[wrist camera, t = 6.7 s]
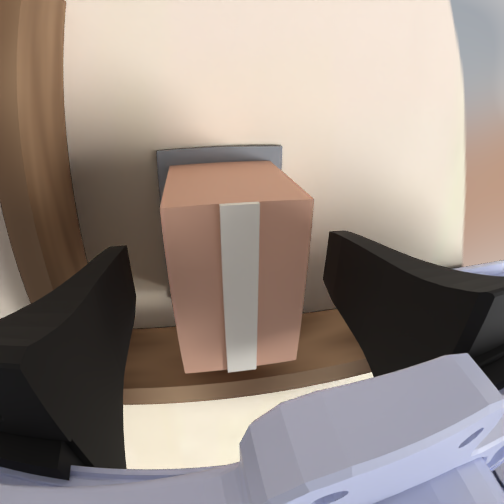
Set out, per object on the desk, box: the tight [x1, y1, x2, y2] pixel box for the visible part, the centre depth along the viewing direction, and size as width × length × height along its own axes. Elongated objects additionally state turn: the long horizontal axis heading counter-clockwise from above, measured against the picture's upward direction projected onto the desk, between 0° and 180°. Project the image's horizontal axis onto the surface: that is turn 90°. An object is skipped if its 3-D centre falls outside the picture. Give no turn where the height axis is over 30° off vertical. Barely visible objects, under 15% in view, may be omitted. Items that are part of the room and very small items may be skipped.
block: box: [160, 161, 314, 373], centre depth 12 cm, size 6×4×5 cm, turn 179°
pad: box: [157, 146, 282, 204], centre depth 14 cm, size 5×7×1 cm
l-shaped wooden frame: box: [0, 0, 372, 405], centre depth 11 cm, size 16×17×4 cm
